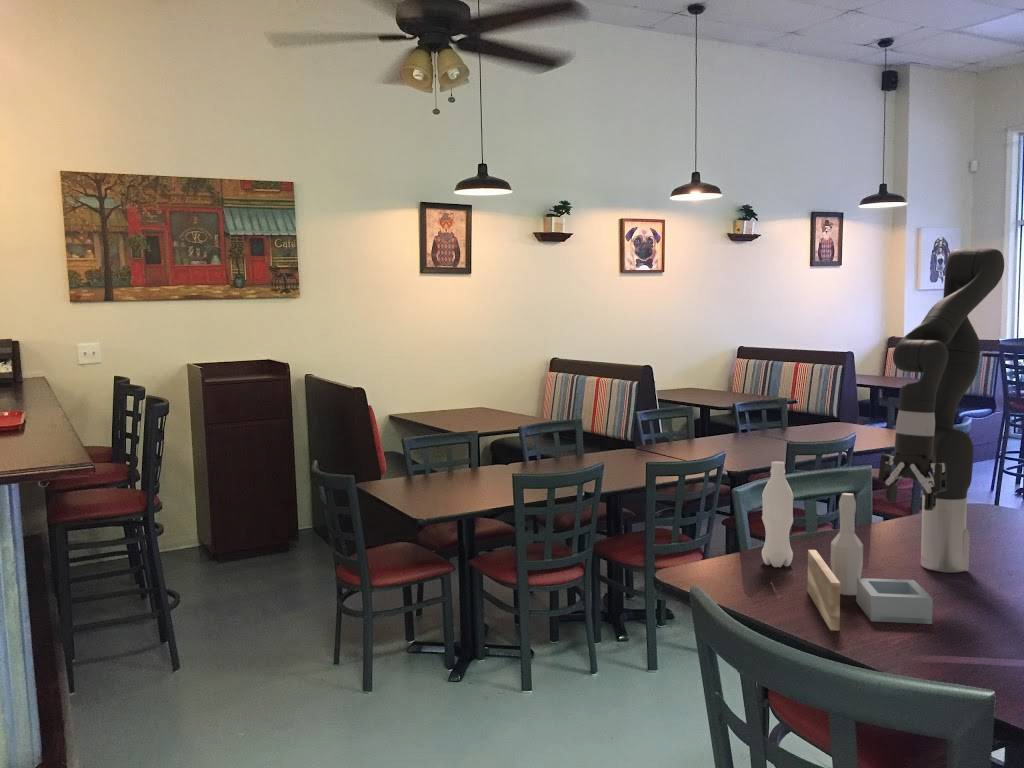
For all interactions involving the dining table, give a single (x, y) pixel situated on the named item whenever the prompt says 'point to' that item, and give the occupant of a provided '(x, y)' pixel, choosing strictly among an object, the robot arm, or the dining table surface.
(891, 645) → the dining table surface
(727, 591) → the dining table surface
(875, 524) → the dining table surface
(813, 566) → the tan wooden board
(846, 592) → the low poly bottle
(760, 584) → the dining table surface
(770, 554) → the water bottle
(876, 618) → the holder
